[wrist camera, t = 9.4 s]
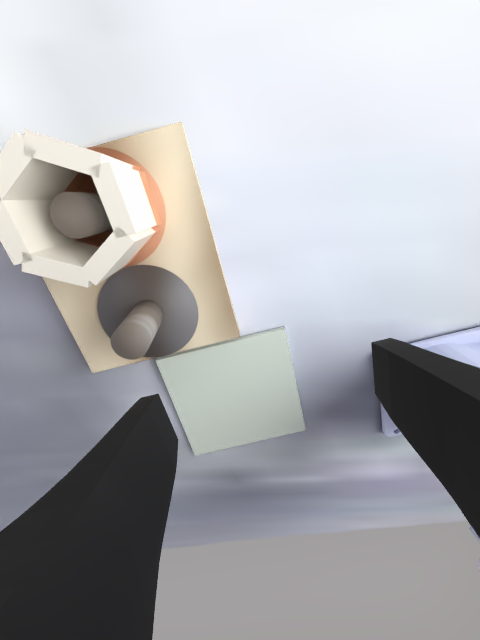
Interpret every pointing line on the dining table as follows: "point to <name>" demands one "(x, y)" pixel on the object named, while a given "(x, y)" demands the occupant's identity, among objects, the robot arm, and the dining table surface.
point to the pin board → (147, 263)
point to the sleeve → (67, 176)
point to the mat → (234, 391)
